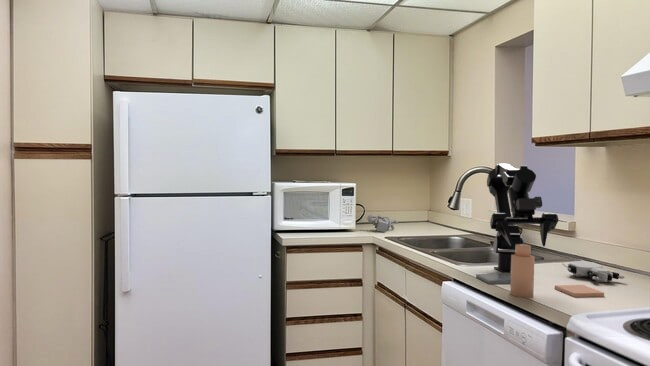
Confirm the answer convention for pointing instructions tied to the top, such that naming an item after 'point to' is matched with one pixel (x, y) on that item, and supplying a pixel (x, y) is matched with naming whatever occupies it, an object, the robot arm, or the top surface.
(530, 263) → the terracotta vase
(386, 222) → the figurine
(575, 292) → the terracotta tile
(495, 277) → the slate tile
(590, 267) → the robot toy
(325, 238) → the top surface
